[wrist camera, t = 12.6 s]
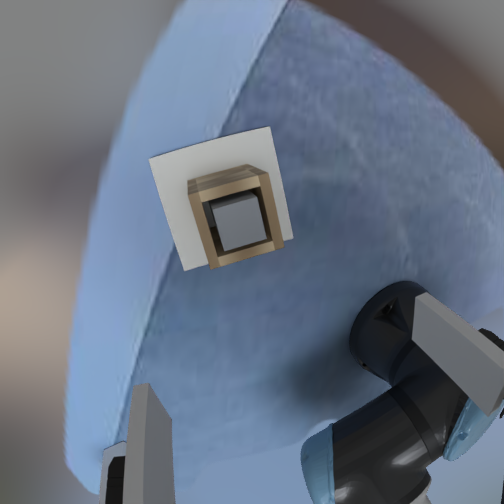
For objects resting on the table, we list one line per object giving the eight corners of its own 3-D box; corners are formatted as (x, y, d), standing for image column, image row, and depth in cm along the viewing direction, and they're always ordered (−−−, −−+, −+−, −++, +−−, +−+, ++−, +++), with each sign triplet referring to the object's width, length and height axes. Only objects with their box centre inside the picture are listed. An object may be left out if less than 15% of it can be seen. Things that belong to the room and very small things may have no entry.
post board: (265, 126, 30) (302, 123, 20) (289, 234, 34) (328, 272, 25) (150, 158, 29) (132, 168, 19) (184, 265, 33) (185, 317, 24)
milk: (103, 449, 42) (95, 553, 22) (123, 440, 42) (119, 552, 22) (128, 463, 45) (128, 562, 24) (149, 454, 44) (153, 561, 24)
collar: (247, 163, 29) (268, 172, 22) (261, 220, 32) (284, 247, 24) (187, 180, 29) (187, 195, 21) (204, 237, 31) (210, 269, 24)
